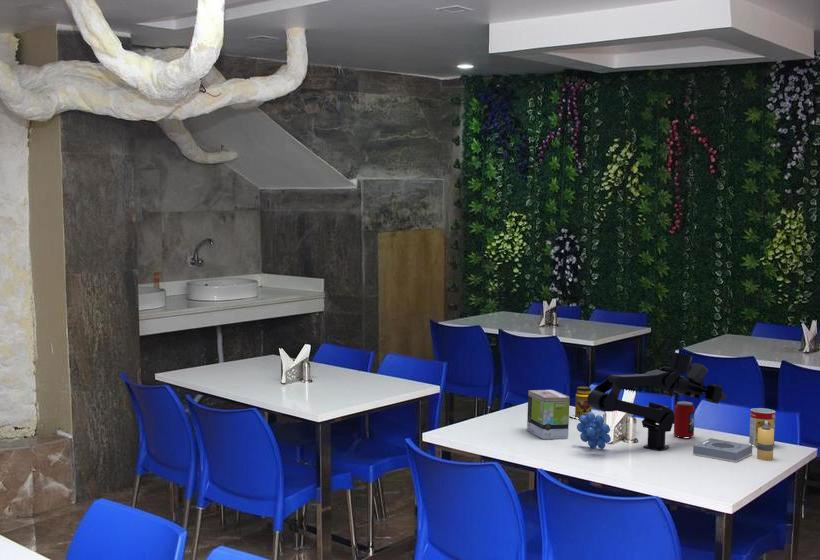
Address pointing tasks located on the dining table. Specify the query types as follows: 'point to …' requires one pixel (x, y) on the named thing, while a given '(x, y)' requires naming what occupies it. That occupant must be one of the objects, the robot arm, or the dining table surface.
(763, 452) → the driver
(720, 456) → the grey square holder
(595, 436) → the grapes
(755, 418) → the canned food
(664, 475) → the dining table surface
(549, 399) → the tea box
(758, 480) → the dining table surface
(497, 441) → the dining table surface
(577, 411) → the condiment
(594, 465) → the dining table surface
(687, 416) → the beverage can
